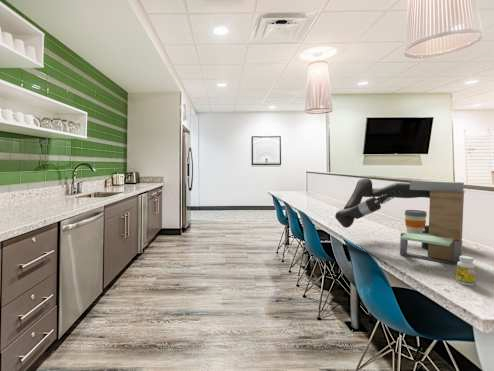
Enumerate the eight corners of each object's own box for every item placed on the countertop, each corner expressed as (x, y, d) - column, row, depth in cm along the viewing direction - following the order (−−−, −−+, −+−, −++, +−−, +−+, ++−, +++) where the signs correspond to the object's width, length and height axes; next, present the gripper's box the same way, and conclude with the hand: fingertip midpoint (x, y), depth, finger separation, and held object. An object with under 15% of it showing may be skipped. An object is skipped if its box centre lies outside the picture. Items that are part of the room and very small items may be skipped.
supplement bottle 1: (436, 247, 152) (436, 225, 152) (437, 250, 147) (437, 227, 146) (421, 245, 156) (421, 224, 155) (421, 248, 150) (422, 226, 149)
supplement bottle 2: (478, 285, 102) (479, 259, 101) (463, 285, 102) (464, 259, 101) (467, 280, 107) (468, 255, 106) (452, 280, 107) (453, 255, 106)
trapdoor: (408, 233, 138) (408, 231, 138) (454, 239, 126) (454, 237, 126) (400, 239, 128) (400, 236, 128) (449, 246, 115) (449, 243, 115)
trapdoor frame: (401, 253, 141) (402, 232, 141) (461, 264, 125) (462, 240, 124) (399, 254, 139) (400, 233, 138) (460, 265, 123) (461, 242, 122)
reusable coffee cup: (426, 233, 188) (426, 210, 188) (426, 236, 178) (426, 213, 177) (404, 230, 195) (405, 209, 194) (403, 234, 184) (404, 211, 184)
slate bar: (411, 189, 143) (411, 181, 143) (463, 191, 129) (463, 182, 129) (409, 189, 140) (409, 181, 140) (462, 191, 126) (462, 182, 126)
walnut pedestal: (430, 253, 141) (432, 189, 139) (461, 259, 132) (464, 191, 131) (427, 257, 134) (429, 190, 133) (459, 263, 126) (462, 192, 124)
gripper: (377, 211, 159) (405, 198, 149) (367, 213, 149) (397, 199, 139) (370, 199, 161) (397, 185, 152) (360, 201, 151) (389, 186, 141)
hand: (397, 192), depth 145 cm, fingers open, 8 cm apart
